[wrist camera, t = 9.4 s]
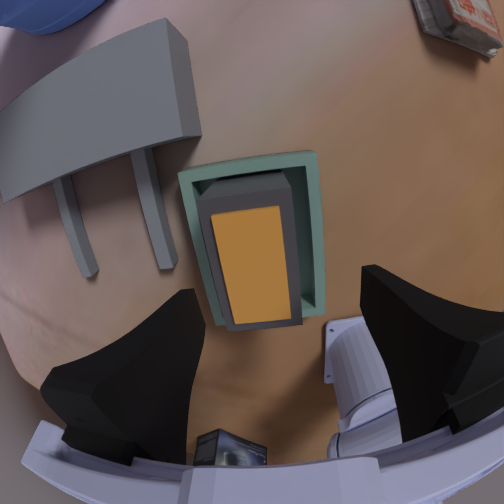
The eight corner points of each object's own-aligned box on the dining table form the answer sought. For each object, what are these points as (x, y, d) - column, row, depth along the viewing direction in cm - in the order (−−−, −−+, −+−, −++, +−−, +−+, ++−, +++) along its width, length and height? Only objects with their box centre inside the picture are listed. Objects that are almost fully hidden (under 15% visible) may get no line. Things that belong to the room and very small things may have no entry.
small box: (269, 446, 37) (269, 499, 27) (243, 455, 39) (240, 503, 29) (220, 427, 34) (212, 487, 24) (196, 436, 36) (186, 489, 27)
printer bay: (224, 253, 22) (215, 286, 18) (64, 273, 24) (38, 298, 19) (187, 40, 15) (165, 17, 10) (25, 116, 17) (-10, 120, 12)
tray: (320, 297, 23) (325, 314, 21) (219, 308, 24) (215, 325, 22) (310, 150, 18) (316, 152, 16) (187, 168, 19) (177, 172, 17)
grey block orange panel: (292, 274, 22) (303, 333, 15) (238, 280, 22) (228, 341, 16) (281, 168, 19) (291, 188, 12) (218, 177, 19) (194, 202, 12)
